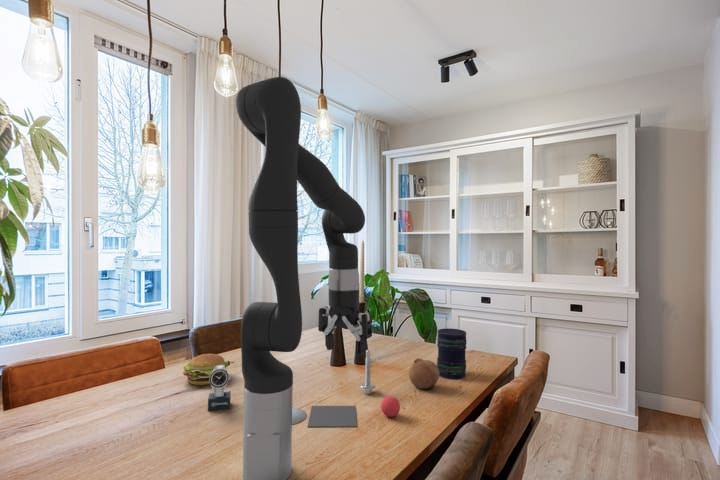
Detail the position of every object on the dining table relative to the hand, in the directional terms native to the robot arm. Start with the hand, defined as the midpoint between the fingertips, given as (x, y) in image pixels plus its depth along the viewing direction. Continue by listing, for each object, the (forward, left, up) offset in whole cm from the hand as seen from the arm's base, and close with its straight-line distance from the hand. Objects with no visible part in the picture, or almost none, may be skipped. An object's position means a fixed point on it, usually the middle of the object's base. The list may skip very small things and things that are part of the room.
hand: (344, 352), depth 96 cm
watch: (+12, +34, -19) cm, 40 cm away
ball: (+6, -12, -16) cm, 21 cm away
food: (+33, +45, -19) cm, 59 cm away
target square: (+6, +3, -18) cm, 20 cm away
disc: (+6, +15, -18) cm, 24 cm away
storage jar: (+38, -37, -19) cm, 56 cm away
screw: (+22, -7, -19) cm, 30 cm away
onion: (+26, -25, -19) cm, 41 cm away
